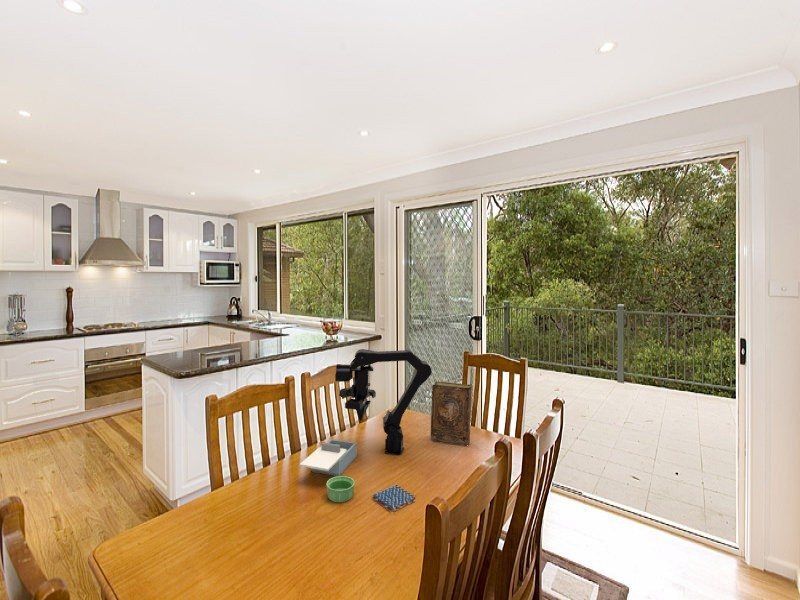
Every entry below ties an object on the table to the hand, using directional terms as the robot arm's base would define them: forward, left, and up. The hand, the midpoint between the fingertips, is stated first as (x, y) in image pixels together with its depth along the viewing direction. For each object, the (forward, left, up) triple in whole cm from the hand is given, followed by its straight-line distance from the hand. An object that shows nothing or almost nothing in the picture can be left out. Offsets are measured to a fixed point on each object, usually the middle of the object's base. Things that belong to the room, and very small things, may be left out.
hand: (360, 419), depth 161 cm
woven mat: (-23, +29, -14) cm, 39 cm away
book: (-33, -22, -13) cm, 42 cm away
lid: (+5, +21, -7) cm, 23 cm away
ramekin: (-6, +32, -13) cm, 35 cm away
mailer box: (+5, +13, -13) cm, 19 cm away
